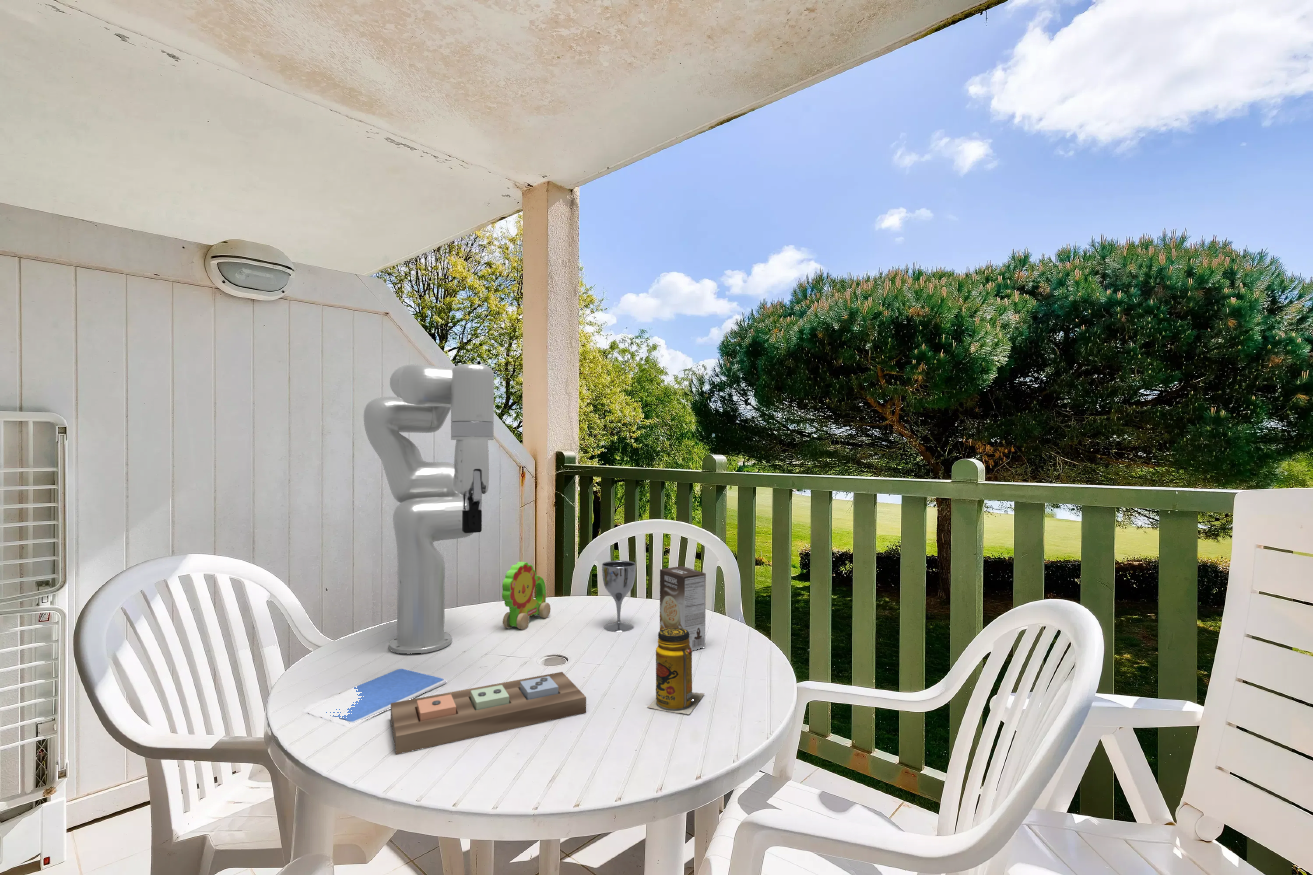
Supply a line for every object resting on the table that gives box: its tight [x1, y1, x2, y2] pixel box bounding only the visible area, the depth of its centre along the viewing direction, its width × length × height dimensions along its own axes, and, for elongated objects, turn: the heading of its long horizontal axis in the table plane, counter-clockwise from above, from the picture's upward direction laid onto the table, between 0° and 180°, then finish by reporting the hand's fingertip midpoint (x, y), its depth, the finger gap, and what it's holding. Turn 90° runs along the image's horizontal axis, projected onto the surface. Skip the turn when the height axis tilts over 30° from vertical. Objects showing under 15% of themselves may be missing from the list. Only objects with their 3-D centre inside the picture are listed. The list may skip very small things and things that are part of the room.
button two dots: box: [471, 685, 509, 710], centre depth 94 cm, size 5×5×3 cm
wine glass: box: [601, 560, 637, 633], centre depth 140 cm, size 8×8×15 cm
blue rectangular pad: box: [326, 668, 447, 724], centre depth 101 cm, size 19×13×1 cm, turn 153°
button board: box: [390, 671, 587, 755], centre depth 94 cm, size 12×28×2 cm, turn 118°
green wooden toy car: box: [501, 561, 552, 630], centre depth 143 cm, size 16×6×15 cm, turn 159°
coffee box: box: [659, 565, 707, 651], centre depth 127 cm, size 9×6×16 cm
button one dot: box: [417, 694, 456, 722], centre depth 90 cm, size 5×5×3 cm
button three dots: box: [520, 676, 558, 700], centre depth 97 cm, size 5×5×3 cm
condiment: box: [647, 627, 705, 715], centre depth 99 cm, size 7×8×12 cm
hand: (471, 531), depth 108 cm, fingers closed
